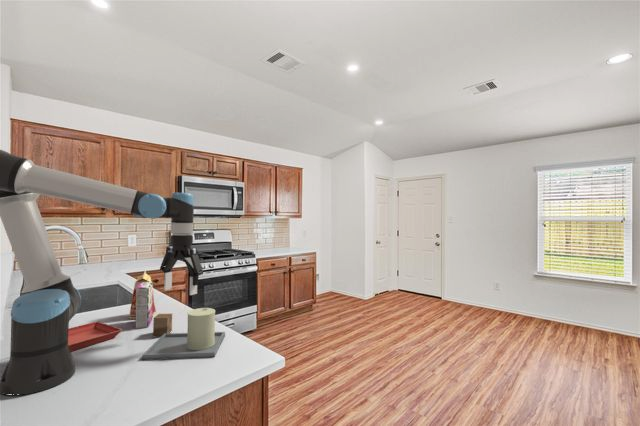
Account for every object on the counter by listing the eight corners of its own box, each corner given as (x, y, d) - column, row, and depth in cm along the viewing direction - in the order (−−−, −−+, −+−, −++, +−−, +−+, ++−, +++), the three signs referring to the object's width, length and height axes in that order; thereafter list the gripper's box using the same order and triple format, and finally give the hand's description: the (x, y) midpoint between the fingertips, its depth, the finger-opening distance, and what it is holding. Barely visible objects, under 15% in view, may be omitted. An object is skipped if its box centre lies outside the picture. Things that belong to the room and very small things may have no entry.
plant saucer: (96, 329, 122) (97, 320, 122) (122, 337, 114) (123, 328, 114) (38, 345, 106) (39, 335, 106) (64, 356, 98) (64, 346, 98)
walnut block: (167, 336, 115) (167, 317, 115) (153, 336, 114) (153, 317, 114) (171, 331, 120) (172, 313, 120) (158, 331, 119) (158, 313, 119)
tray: (214, 357, 98) (214, 352, 98) (142, 359, 95) (142, 355, 95) (225, 335, 116) (225, 331, 116) (164, 337, 113) (164, 333, 113)
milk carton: (134, 313, 141) (135, 270, 141) (156, 312, 143) (157, 269, 144) (128, 320, 132) (129, 273, 132) (151, 318, 135) (153, 273, 135)
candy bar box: (139, 320, 132) (140, 282, 132) (152, 319, 134) (153, 281, 134) (134, 329, 121) (135, 288, 122) (148, 327, 123) (149, 287, 123)
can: (219, 340, 110) (219, 307, 111) (207, 351, 101) (208, 314, 101) (195, 338, 111) (195, 305, 112) (181, 349, 102) (181, 313, 102)
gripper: (214, 235, 111) (212, 294, 110) (168, 232, 122) (166, 286, 121) (197, 236, 104) (196, 298, 103) (150, 233, 115) (148, 289, 115)
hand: (180, 292), depth 112 cm, fingers open, 13 cm apart
